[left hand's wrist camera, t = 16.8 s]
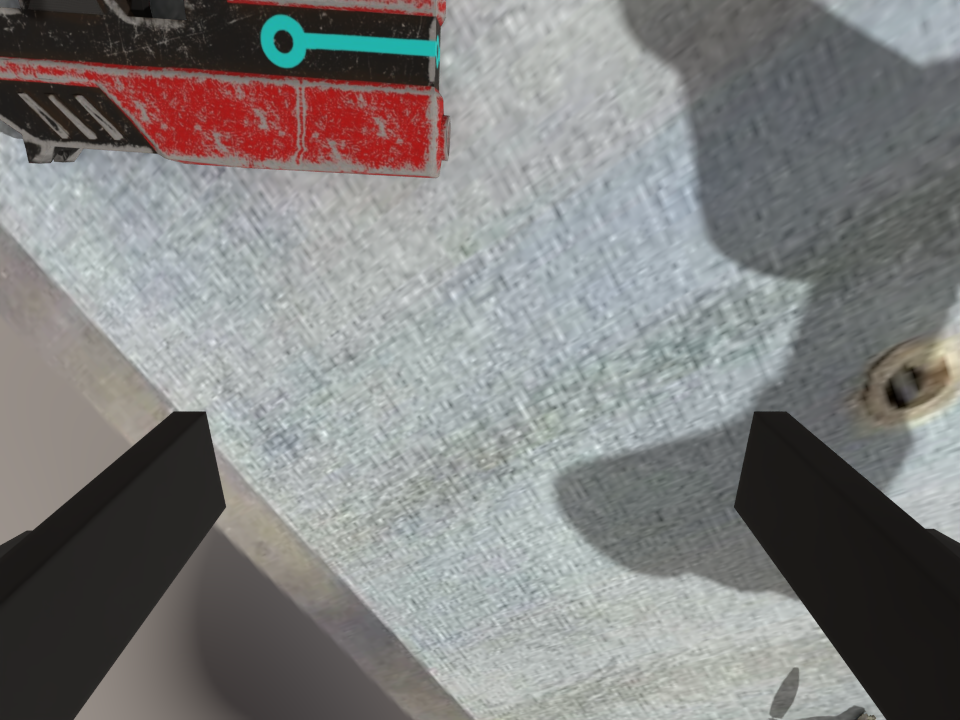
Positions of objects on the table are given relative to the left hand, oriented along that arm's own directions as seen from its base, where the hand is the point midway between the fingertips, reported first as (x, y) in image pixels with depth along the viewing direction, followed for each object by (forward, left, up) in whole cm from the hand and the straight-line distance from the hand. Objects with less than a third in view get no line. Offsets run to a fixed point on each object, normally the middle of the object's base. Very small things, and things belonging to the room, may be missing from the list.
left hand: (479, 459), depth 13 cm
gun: (-9, -21, -31) cm, 38 cm away
